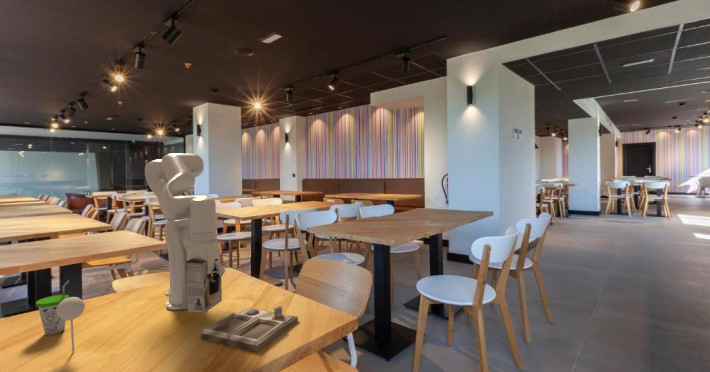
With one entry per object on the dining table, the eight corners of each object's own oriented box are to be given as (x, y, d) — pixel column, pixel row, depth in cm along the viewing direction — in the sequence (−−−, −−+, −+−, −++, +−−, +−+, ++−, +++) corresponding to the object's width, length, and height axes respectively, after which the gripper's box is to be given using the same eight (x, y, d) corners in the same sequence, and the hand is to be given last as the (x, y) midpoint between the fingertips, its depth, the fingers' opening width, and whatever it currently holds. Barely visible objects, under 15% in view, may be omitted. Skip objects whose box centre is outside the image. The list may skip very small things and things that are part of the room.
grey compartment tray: (200, 339, 99) (200, 322, 99) (247, 312, 117) (247, 297, 117) (256, 352, 91) (256, 333, 91) (297, 321, 110) (297, 305, 109)
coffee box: (205, 299, 116) (204, 252, 115) (222, 301, 115) (221, 254, 113) (186, 311, 107) (185, 260, 106) (205, 313, 106) (203, 262, 104)
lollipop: (70, 346, 96) (67, 294, 95) (92, 345, 96) (89, 293, 96) (52, 359, 90) (49, 302, 89) (76, 357, 90) (73, 301, 90)
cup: (33, 340, 100) (30, 290, 99) (42, 330, 107) (39, 282, 106) (67, 334, 103) (64, 285, 103) (74, 324, 110) (71, 278, 110)
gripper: (173, 236, 109) (175, 291, 110) (215, 242, 102) (216, 300, 104) (193, 232, 116) (194, 283, 117) (233, 236, 109) (234, 291, 110)
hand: (204, 290), depth 110 cm, fingers closed on coffee box, 7 cm apart
